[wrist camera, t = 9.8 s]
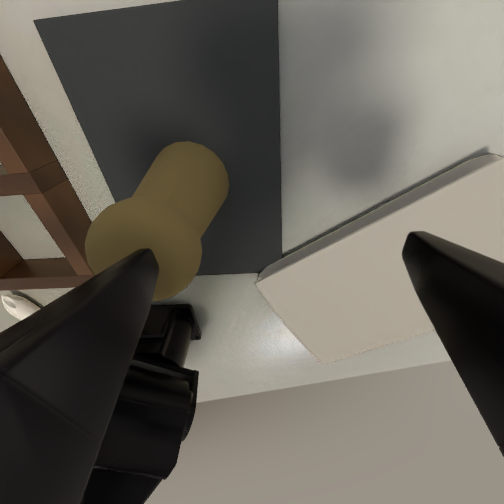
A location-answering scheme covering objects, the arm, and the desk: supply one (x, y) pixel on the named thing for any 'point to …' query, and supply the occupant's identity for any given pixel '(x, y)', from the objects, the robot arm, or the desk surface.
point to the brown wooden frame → (38, 199)
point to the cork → (163, 216)
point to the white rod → (18, 306)
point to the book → (383, 263)
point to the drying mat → (184, 106)
